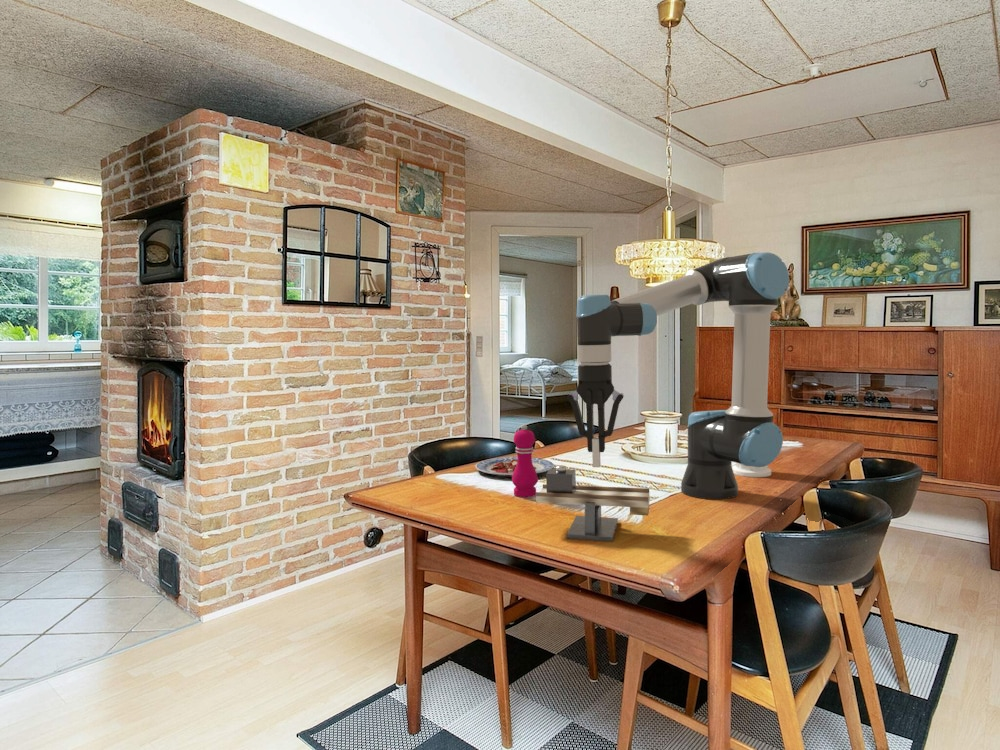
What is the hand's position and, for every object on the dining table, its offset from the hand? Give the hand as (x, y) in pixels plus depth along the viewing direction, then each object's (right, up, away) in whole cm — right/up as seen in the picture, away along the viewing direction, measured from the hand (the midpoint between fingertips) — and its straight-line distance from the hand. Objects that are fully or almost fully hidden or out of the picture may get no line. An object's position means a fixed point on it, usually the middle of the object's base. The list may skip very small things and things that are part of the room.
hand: (596, 465), depth 146 cm
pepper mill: (-15, -13, +33) cm, 39 cm away
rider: (-8, -7, +2) cm, 11 cm away
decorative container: (+57, -10, +55) cm, 80 cm away
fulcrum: (-1, -15, +1) cm, 15 cm away
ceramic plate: (-17, -11, +63) cm, 66 cm away
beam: (-1, -10, +1) cm, 10 cm away
